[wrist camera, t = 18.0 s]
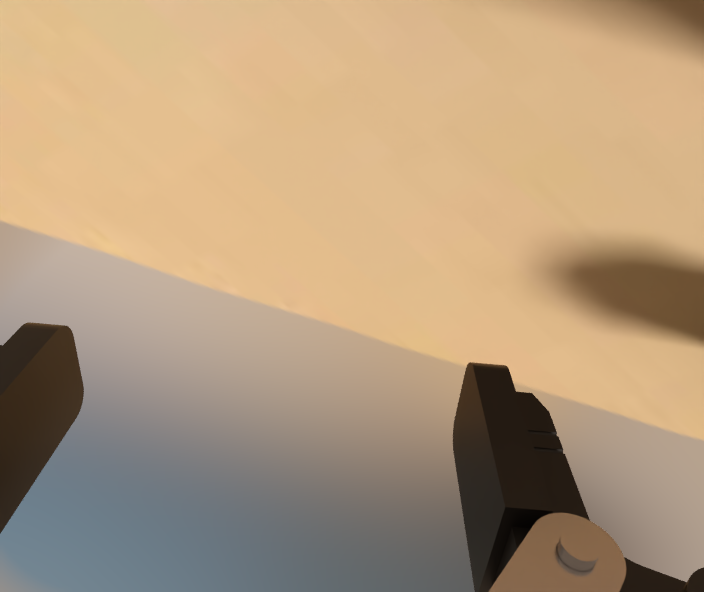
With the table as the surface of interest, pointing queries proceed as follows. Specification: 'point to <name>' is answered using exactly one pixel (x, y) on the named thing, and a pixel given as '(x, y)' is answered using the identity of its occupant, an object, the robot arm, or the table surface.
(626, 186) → the table surface
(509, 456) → the robot arm
